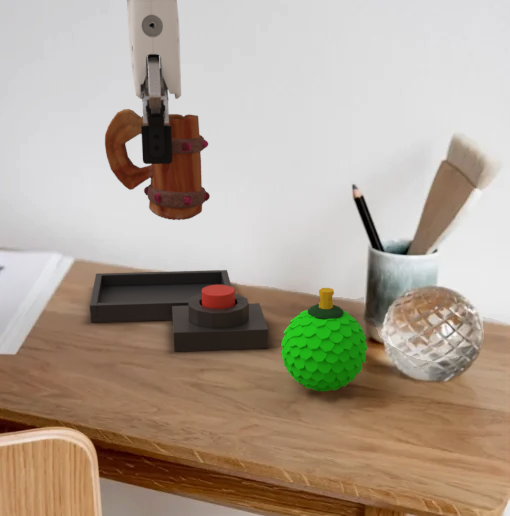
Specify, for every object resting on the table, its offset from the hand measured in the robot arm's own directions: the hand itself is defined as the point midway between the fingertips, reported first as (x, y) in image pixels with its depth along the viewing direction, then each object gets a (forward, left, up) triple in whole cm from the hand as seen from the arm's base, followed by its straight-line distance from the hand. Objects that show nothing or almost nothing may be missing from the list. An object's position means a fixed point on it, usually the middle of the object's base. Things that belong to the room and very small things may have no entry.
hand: (157, 155), depth 95 cm
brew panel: (+6, -11, -18) cm, 22 cm away
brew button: (+6, -11, -14) cm, 19 cm away
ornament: (+15, -25, -18) cm, 34 cm away
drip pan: (0, 0, -18) cm, 18 cm away
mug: (0, 0, -7) cm, 7 cm away
